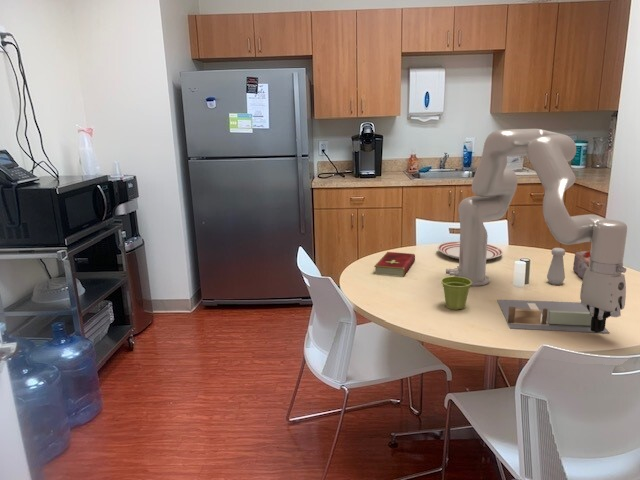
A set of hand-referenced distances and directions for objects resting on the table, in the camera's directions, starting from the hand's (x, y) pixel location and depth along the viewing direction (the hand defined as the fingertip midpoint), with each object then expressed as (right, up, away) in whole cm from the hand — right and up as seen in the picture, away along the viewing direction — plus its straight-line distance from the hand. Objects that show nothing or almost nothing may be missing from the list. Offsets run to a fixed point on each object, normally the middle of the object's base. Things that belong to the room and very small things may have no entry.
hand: (597, 330), depth 128 cm
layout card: (-6, +2, +14) cm, 16 cm away
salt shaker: (+9, +9, +41) cm, 43 cm away
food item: (+24, +11, +46) cm, 53 cm away
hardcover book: (-45, +13, +64) cm, 80 cm away
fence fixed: (-15, 0, +9) cm, 18 cm away
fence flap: (-3, +1, +7) cm, 7 cm away
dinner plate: (-10, +18, +78) cm, 81 cm away
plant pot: (-32, +3, +23) cm, 40 cm away
